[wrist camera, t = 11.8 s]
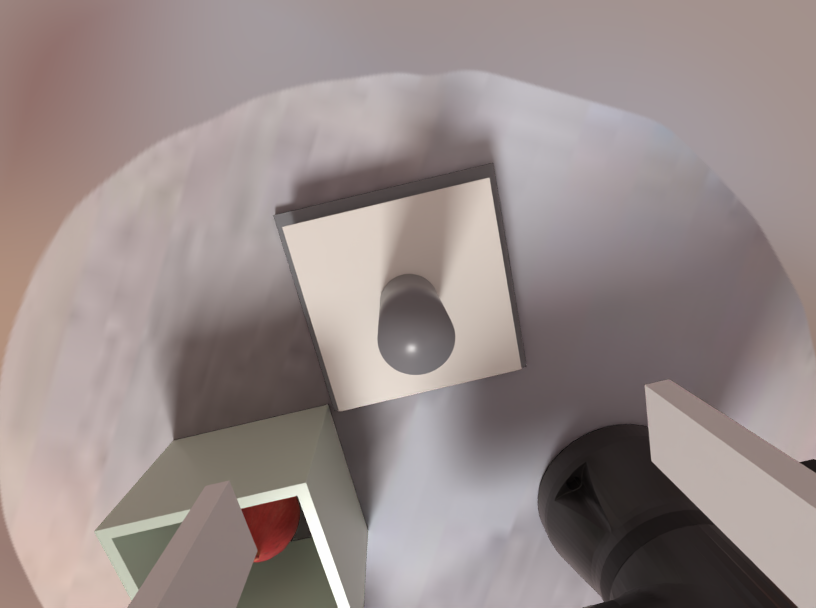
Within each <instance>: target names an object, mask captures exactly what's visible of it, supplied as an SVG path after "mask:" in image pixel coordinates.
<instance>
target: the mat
mask: <svg viewBox="0 0 816 608" xmlns="http://www.w3.org/2000/svg"><path fill="white" fill-rule="evenodd" d="M485 178H490V184H491V190H492V196H493V202H494V208H495V214H496V220H497V226H498V232H499V238H500V244H501V249H502V255H503V261H504V267H505V273H506V279H507V285H508V291H509V297H510V303H511V309H512V315H513V321H514V327H515V333H516V339H517V345H518V351H519V357H520V363H521V368H522V367H527V366H526V360H525V354H524V348H523V342H522V336H521V330H520V324H519V318H518V311H517V305H516V299H515V293H514V287H513V281H512V275H511V269H510V263H509V257H508V251H507V245H506V238H505V232H504V226H503V220H502V214H501V208H500V202H499V196H498V190H497V184H496V178H495V171H494V165H493V163H490V164H486V165H482V166H478V167H474V168H469V169H465V170H461V171H457V172H453V173H449V174H444V175H440V176H436V177H432V178H428V179H423V180H419V181H415V182H411V183H407V184H403V185H398V186H394V187H390V188H386V189H382V190H377V191H373V192H369V193H365V194H361V195H357V196H352V197H348V198H344V199H340V200H336V201H331V202H327V203H323V204H319V205H315V206H311V207H306V208H302V209H298V210H294V211H290V212H285V213H281V214H277V215H273V216H274V220H275V223H276V226H277V229H278V232H279V236H280V239H281V242H282V245H283V248H284V252H285V255H286V258H287V261H288V264H289V268H290V271H291V274H292V277H293V280H294V284H295V287H296V290H297V293H298V296H299V300H300V303H301V306H302V309H303V312H304V315H305V319H306V322H307V325H308V328H309V331H310V335H311V338H312V341H313V344H314V347H315V351H316V354H317V357H318V360H319V363H320V367H321V370H322V373H323V376H324V379H325V383H326V386H327V389H328V392H329V395H330V399H331V402H332V405H333V408H334V411H337V410H338V406H337V403H336V400H335V397H334V393H333V390H332V387H331V384H330V380H329V377H328V374H327V371H326V367H325V364H324V361H323V358H322V355H321V351H320V348H319V345H318V342H317V338H316V335H315V332H314V329H313V325H312V322H311V319H310V316H309V313H308V309H307V306H306V303H305V300H304V296H303V293H302V290H301V287H300V283H299V280H298V277H297V274H296V270H295V267H294V264H293V261H292V258H291V254H290V251H289V248H288V245H287V241H286V238H285V235H284V232H283V228H282V227H284V226H288V225H292V224H296V223H300V222H304V221H309V220H313V219H317V218H321V217H325V216H329V215H334V214H338V213H342V212H346V211H350V210H355V209H359V208H363V207H367V206H371V205H376V204H380V203H384V202H388V201H392V200H397V199H401V198H405V197H409V196H413V195H418V194H422V193H426V192H430V191H434V190H438V189H443V188H447V187H451V186H455V185H459V184H464V183H468V182H472V181H476V180H480V179H485Z"/></svg>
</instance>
